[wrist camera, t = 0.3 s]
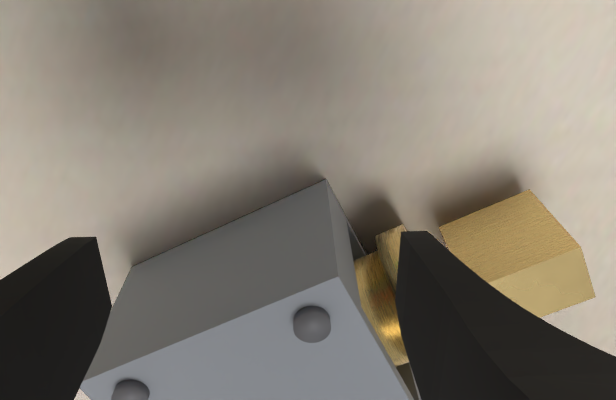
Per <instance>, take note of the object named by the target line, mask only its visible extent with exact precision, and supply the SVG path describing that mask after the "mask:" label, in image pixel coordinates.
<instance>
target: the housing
mask: <svg viewBox="0 0 616 400" xmlns="http://www.w3.org/2000/svg"><path fill="white" fill-rule="evenodd" d="M363 256H366V253H365V251H364V250H363V248H362V246H361V244H360V242H359V240H358V238H357V236H356V234H355V233H354V231H353V229H352V227H351V225H350V223H349V221H348V219H347V217H346V216H345V214H344V212H343V210H342V208H341V206H340V204H339V202H338V200H337V199H336V197H335V195H334V193H333V191H332V189H331V187H330V185H329V183H328V182H327V180H326V179H325V180H323V181H321V182H319V183H316V184H314V185H312V186H310V187H308V188H305V189H303V190H301V191H299V192H297V193H294V194H292V195H290V196H288V197H285V198H283V199H281V200H279V201H277V202H274V203H272V204H270V205H268V206H266V207H263V208H261V209H259V210H257V211H254V212H252V213H250V214H248V215H246V216H243V217H241V218H239V219H237V220H235V221H232V222H230V223H228V224H226V225H224V226H221V227H219V228H217V229H215V230H212V231H210V232H208V233H206V234H204V235H201V236H199V237H197V238H195V239H193V240H190V241H188V242H186V243H184V244H182V245H179V246H177V247H175V248H173V249H170V250H168V251H166V252H164V253H162V254H159V255H157V256H155V257H153V258H151V259H148V260H146V261H144V262H142V263H139V264H137V265H135V266H133V267H132V268H131V270H130V272H129V274H128V276H127V278H126V280H125V282H124V284H123V286H122V288H121V291H120V293H119V295H118V297H117V299H116V301H115V303H114V305H113V307H112V309H111V312H110V315H109V318H108V321H107V325H106V328H105V331H104V334H103V337H102V340H101V343H100V346H99V348H98V350H97V352H96V354H95V356H94V359H93V361H92V363H91V365H90V367H89V369H88V371H87V373H86V375H85V377H84V380H83V382H82V384H81V386H80V389H81V390H82V391H83V392H84V393H85V394H86V395H87V396H88V397H89V398H90V399H91V400H421V397H420V394H419V391H418V388H417V385H416V382H415V378H414V375H413V372H412V369H411V366H410V363H409V362H408V363H405V364H402V365H399V366H397V367H395V365H394V363H393V362H392V360H391V358H390V356H389V355H388V353H387V351H386V349H385V347H384V346H383V344H382V342H381V340H380V339H379V337H378V335H377V333H376V332H375V330H374V328H373V326H372V325H371V323H370V321H369V319H368V318H367V316H366V314H365V312H364V310H363V309H362V307H361V301H360V296H359V290H358V284H357V279H356V273H355V267H354V262H353V261H354V260H356V259H359V258H361V257H363Z"/></svg>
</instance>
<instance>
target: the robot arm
mask: <svg viewBox="0 0 616 400" xmlns="http://www.w3.org/2000/svg"><path fill="white" fill-rule="evenodd" d="M395 303H396V309H397V315H398V321H399V326H400V332H401V337H402V340H403V344H404V347H405V350H406V353H407V356H408V360H409V363H410V366H411V369H412V372H413V375H414V378H415V382H416V385H417V388H418V391H419V394H420V397H421V400H616V357H615V356H613V355H610V354H608V353H606V352H604V351H602V350H599V349H597V348H595V347H593V346H591V345H589V344H587V343H585V342H583V341H581V340H579V339H577V338H575V337H573V336H571V335H569V334H567V333H565V332H563V331H561V330H560V329H558V328H556V327H554V326H552V325H551V324H549V323H547V322H545V321H544V320H542V319H541V318H539V317H537V316H536V315H534V314H532V313H531V312H529V311H527V310H526V309H524V308H523V307H521V306H520V305H518V304H517V303H515V302H514V301H512V300H511V299H509V298H508V297H506V296H505V295H504V294H502V293H501V292H500V291H498V290H497V289H495V288H494V287H493V286H491V285H490V284H489V283H487V282H486V281H485V280H484V279H482V278H481V277H480V276H478V275H477V274H476V273H475V272H474V271H472V270H471V269H470V268H469V267H468V266H466V265H465V264H464V263H463V262H462V261H460V260H459V259H458V258H457V257H456V256H455V255H454V254H452V253H451V252H450V251H449V250H448V249H447V248H446V247H444V246H443V245H442V244H441V243H440V242H439V241H438V240H437V239H435V238H434V237H433V236H432V235H431V234H430V233H428V232H427V231H403V232H401V237H400V249H399V261H398V272H397V284H396V295H395ZM111 308H112V305H111V300H110V296H109V291H108V287H107V283H106V278H105V274H104V270H103V265H102V261H101V256H100V252H99V248H98V243H97V239H96V237H70V238H68V239H66V240H64V241H62V242H60V243H59V244H57V245H55V246H53V247H52V248H50V249H49V250H47V251H45V252H44V253H42V254H41V255H39V256H37V257H36V258H34V259H33V260H31V261H30V262H28V263H26V264H25V265H23V266H22V267H20V268H18V269H17V270H15V271H14V272H12V273H11V274H9V275H7V276H6V277H4V278H3V279H1V280H0V400H74V398H75V396H76V394H77V392H78V390H79V388H80V386H81V384H82V382H83V380H84V377H85V375H86V373H87V371H88V369H89V367H90V365H91V363H92V361H93V359H94V356H95V354H96V352H97V350H98V348H99V346H100V343H101V340H102V337H103V334H104V331H105V328H106V325H107V321H108V318H109V315H110V311H111Z"/></svg>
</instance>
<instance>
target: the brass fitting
mask: <svg viewBox="0 0 616 400" xmlns="http://www.w3.org/2000/svg"><path fill="white" fill-rule="evenodd" d="M439 229H440V231H441V234H442V236H443V238H444V240H445V243H446V245H447V247H448V250H449V251H450V252H451V253H452V254H454V255H455V256H456V257H457V258H458V259H459V260H460V261H462V262H463V263H464V264H465V265H466V266H468V267H469V268H470V269H471V270H472V271H474V272H475V273H476V274H477V275H478V276H480V277H481V278H482V279H484V280H485V281H486V282H487V283H489V284H490V285H491V286H493V287H494V288H495V289H497V290H498V291H500V292H501V293H502V294H504V295H505V296H506V297H508V298H509V299H511V300H512V301H514V302H515V303H517V304H518V305H520V306H521V307H523V308H524V309H526V310H527V311H529V312H531V313H532V314H534V315H536V316H537V317H539V318H540V317H543V316H545V315H548V314H551V313H553V312H556V311H559V310H562V309H564V308H567V307H570V306H573V305H575V304H578V303H581V302H584V301H586V300H589V299H592V298H594V297H595V294H594V290H593V287H592V283H591V280H590V276H589V273H588V270H587V266H586V263H585V259H584V256H583V252H582V249H581V247H580V246H579V244H578V243H577V242H576V241H575V240H574V239H573V238H572V237H571V235H570V234H569V233H568V232H567V231H566V230H565V229H564V228H563V226H562V225H561V224H560V223H559V222H558V221H557V220H556V219H555V217H554V216H553V215H552V214H551V213H550V212H549V211H548V210H547V209H546V207H545V206H544V205H543V204H542V203H541V202H540V201H539V200H538V198H537V197H536V196H535V195H534V194H533V193H532V192H531V191H530V189H529V190H527V191H525V192H522V193H520V194H517V195H515V196H512V197H510V198H508V199H505V200H503V201H500V202H498V203H496V204H493V205H491V206H488V207H486V208H483V209H481V210H479V211H476V212H474V213H471V214H469V215H467V216H464V217H462V218H459V219H457V220H455V221H452V222H450V223H447V224H445V225H442V226H440V227H439ZM403 231H407V230H406V228H405V226H404V225H403V224H402V225H400V226H397V227H395V228H393V229H390V230H388V231H386V232H383V233H381V234H378V235H376V236H375V240H376V245H377V249H378V251H375V252H373V253H371V254H368V255H366V256H363V257H361V258H359V259H356V260H354V261H353V262H354V267H355V273H356V279H357V284H358V290H359V296H360V301H361V307H362V309H363V310H364V312H365V314H366V316H367V318H368V319H369V321H370V323H371V325H372V326H373V328H374V330H375V332H376V333H377V335H378V337H379V339H380V340H381V342H382V344H383V346H384V347H385V349H386V351H387V353H388V355H389V356H390V358H391V360H392V362H393V363H394V365H395V367H397V366H399V365H402V364H405V363H408V362H409V360H408V356H407V353H406V350H405V347H404V344H403V340H402V337H401V332H400V326H399V321H398V315H397V309H396V303H395V295H396V284H397V272H398V261H399V249H400V237H401V232H403Z"/></svg>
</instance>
